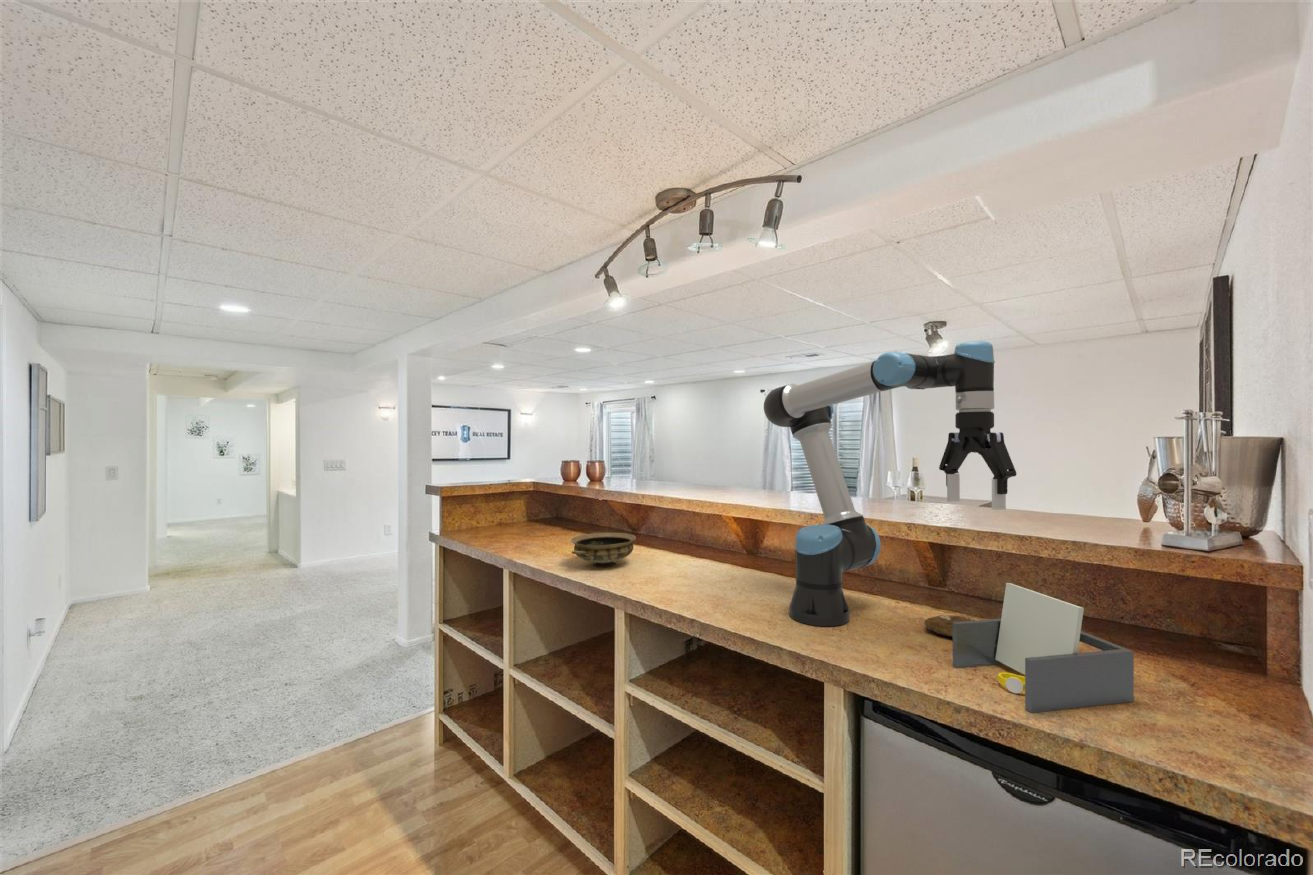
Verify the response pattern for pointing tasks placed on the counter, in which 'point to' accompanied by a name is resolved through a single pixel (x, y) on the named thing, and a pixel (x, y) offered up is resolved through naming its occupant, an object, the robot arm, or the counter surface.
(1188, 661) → the counter surface
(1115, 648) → the stand
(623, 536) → the ceramic bowl
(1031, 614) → the trapdoor
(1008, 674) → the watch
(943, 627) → the decorative rock
